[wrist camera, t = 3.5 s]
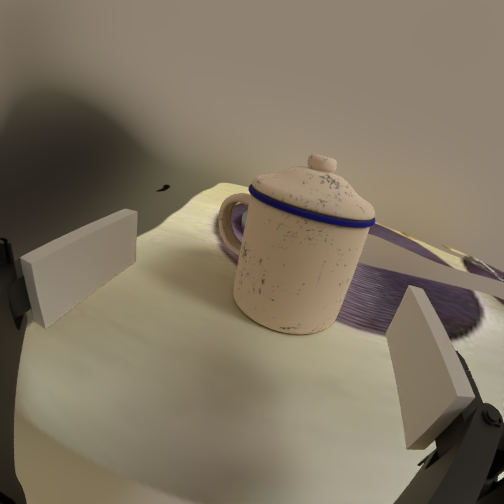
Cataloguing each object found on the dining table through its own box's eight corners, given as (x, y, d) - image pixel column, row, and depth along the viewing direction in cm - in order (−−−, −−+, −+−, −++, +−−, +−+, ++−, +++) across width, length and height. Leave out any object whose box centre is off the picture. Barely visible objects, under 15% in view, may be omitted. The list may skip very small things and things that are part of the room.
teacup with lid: (350, 302, 25) (392, 176, 20) (315, 358, 17) (380, 176, 13) (241, 253, 30) (263, 140, 25) (177, 283, 22) (196, 131, 18)
